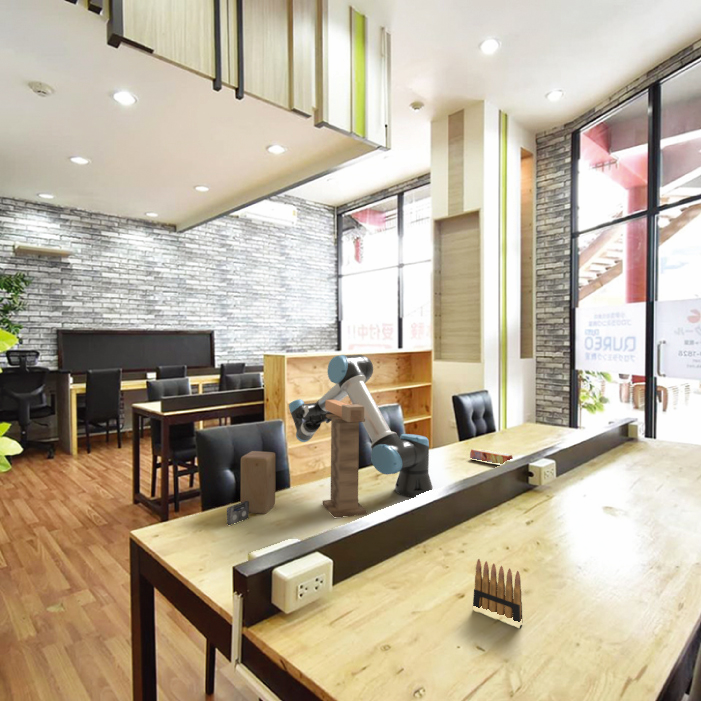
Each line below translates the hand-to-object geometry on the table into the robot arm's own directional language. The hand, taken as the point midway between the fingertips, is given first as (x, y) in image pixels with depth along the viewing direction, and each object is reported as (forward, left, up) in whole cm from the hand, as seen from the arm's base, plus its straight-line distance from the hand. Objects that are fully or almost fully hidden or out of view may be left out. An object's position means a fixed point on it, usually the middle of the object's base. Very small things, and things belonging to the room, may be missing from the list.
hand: (323, 407), depth 190 cm
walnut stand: (-22, +13, -34) cm, 42 cm away
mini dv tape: (-2, +45, -34) cm, 56 cm away
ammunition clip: (-90, +41, -34) cm, 105 cm away
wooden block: (+2, +33, -34) cm, 47 cm away
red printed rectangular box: (-38, -84, -34) cm, 98 cm away
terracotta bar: (-20, +11, 0) cm, 23 cm away
